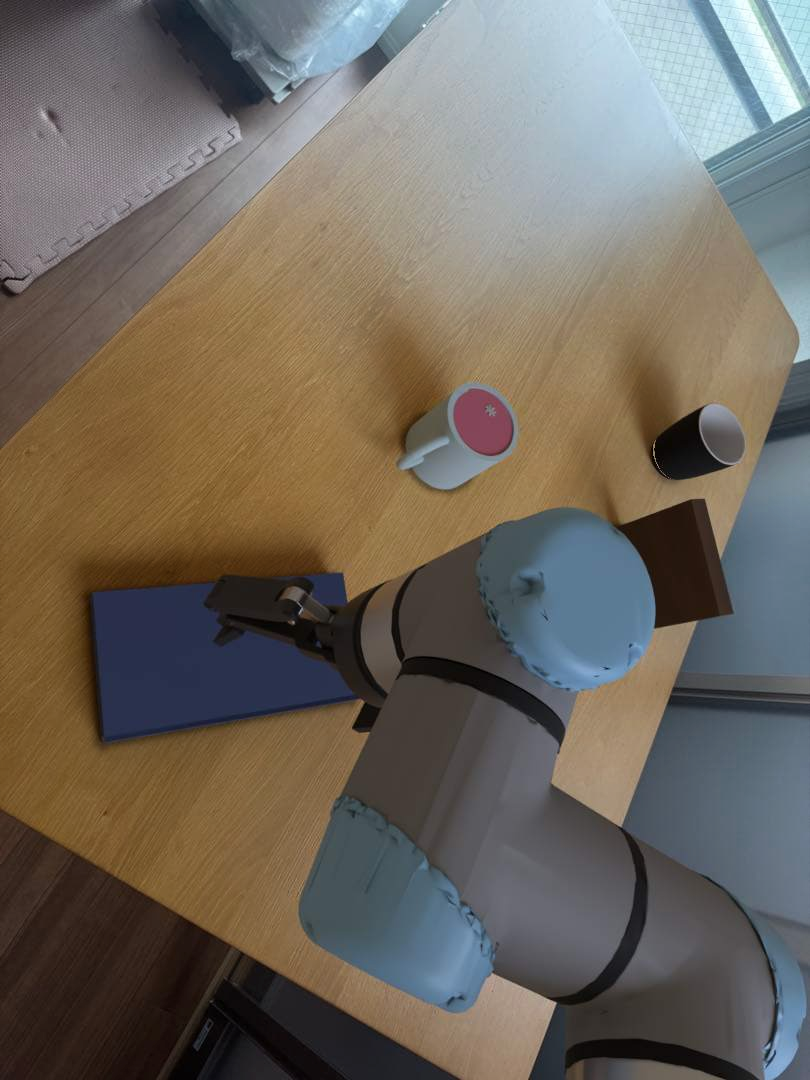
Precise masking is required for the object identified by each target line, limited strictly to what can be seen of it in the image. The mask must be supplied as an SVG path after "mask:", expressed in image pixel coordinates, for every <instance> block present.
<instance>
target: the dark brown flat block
mask: <svg viewBox="0 0 810 1080" xmlns="http://www.w3.org/2000/svg"><path fill="white" fill-rule="evenodd" d="M712 525H713V524H712V521H711V516H710V514H709V508H708V505H707V501H706V498H691V499H687V500H685V501H682V502H680V503H676V504H674V505H672V506H668V507H666V508H664V509H660V510H658V511H656V512H653V513H650V514H647V515H645V516H642V517H640V518H638V519H637V518H636V519H633V520H631V521H629V522H626V523H623V524H620V525H618V526H614V527H615V528H617V529H618V530H619V531H620V532H622V533H623V534H624V535H625V536H626V537H627V538H628V540H629V541H630V542H631V543H632V545H633V546H634V547H635V548H636V550H637V551H638V553H639V555H640V556H641V558H642V560H643V562H644V564H645V567H646V569H647V572H648V574H649V577H650V580H651V584H652V588H653V593H654V598H655V624H654V630H657V629H663V628H666V627H671V626H672V627H673V626H678V625H683V624H689V623H693V622H699V621H704V620H708V619H715V618H719V617H724V616H725V617H726V616H730V615H734V613H735V612H734V610H733V605H732V601H731V597H730V592H729V589H728V585H727V581H726V578H725V573H724V569H723V565H722V561H721V556H720V553H719V549H718V545H717V541H716V538H715V532H714V530H713V526H712Z"/></svg>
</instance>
